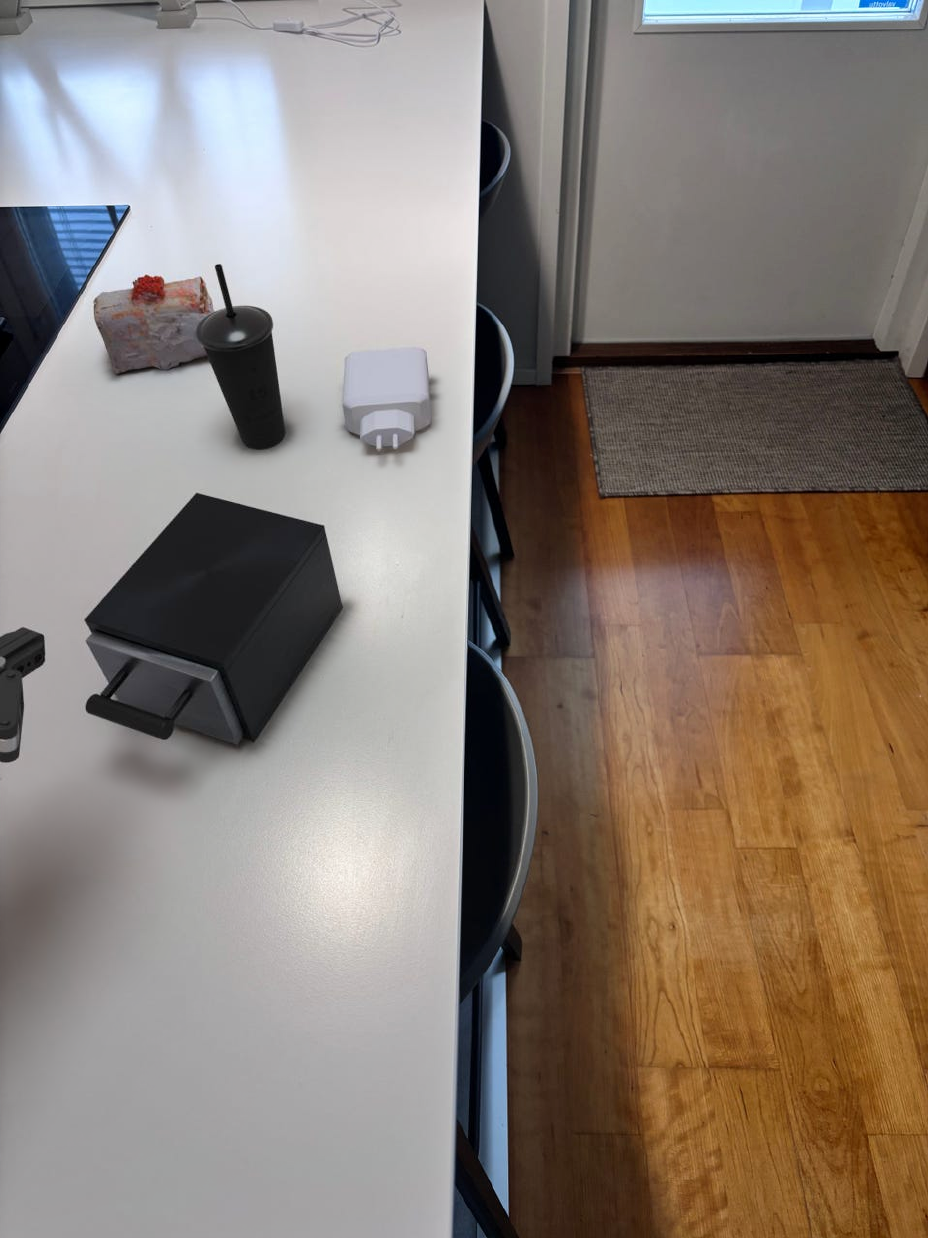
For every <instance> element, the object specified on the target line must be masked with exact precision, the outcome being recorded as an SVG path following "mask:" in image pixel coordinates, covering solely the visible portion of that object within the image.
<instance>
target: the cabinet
mask: <svg viewBox="0 0 928 1238" xmlns="http://www.w3.org/2000/svg"><path fill="white" fill-rule="evenodd" d="M343 608H344V607H343V602H342V597H341V593H340V589H339V585H338V581H337V576H336V572H335V567H334V563H333V559H332V555H331V550H330V544H329V541H328V537H327V532H326V528H325V525H323V524H319V523H316V522H313V521H312V522H311V521H308V520H304V519H300V518H296V517H292V516H290V515H289V516H288V515H284V514H281V513H277V512H273V511H269V510H266V509H262V508H257V507H254V506H250V505H246V504H241V503H237V502H235V501H230V500H227V499H222V498H219V497H216V496H215V497H214V496H211V495H207V494H203V493H199V492H196V493H194V495H193V496H192V497H191V498H190V499H189V500H188V501H187V503H185V505H184V506H183V507H182V508H181V509H180V510H179V512H178V513H177V514H175V516H174V517H173V518H172V519H171V521H170V522H169V523H168V524H167V525H166V527H164V529H163V530H162V531H161V532H160V533H159V534H158V536H156V537H155V538H154V540H153V541H152V542H151V543H150V545H148V546H147V548H146V549H145V550H144V551H143V552H142V553H141V554H140V556H139V557H138V558H137V559H136V560H135V562H133V564H132V565H131V566H129V568H128V570H126V572H125V573H123V575H122V576H121V577H120V578H119V579H118V581H117V582H116V583H115V584H114V585H113V586H112V587H111V588H110V590H109V591H108V592H107V593H106V594H105V595H104V596H103V598H102V599H101V600H100V601H99V602H98V604H96V605H95V607H94V608H93V609H92V610H91V611H90V613H88V614H87V616H86V617H85V618H84V623H85V624H86V626H87V627H88V629H89V631H90V634H91V633H92V632H93V631H94V630H95V631H98V632H101V633H105V634H108V635H111V636H114V637H117V638H120V639H123V638H124V639H127V640H130V641H134V642H137V643H140V644H143V645H146V646H149V647H152V648H155V649H159V650H162V651H165V652H168V653H171V654H174V655H177V656H180V657H183V658H187V659H190V660H193V661H196V662H199V663H202V664H205V665H208V666H212V667H215V668H216V669H217V670H219V672H220V674H221V677H222V679H223V682H224V684H225V687H226V689H227V692H228V694H229V697H230V699H231V702H232V704H233V706H234V709H235V711H236V714H237V716H238V719H239V721H240V724H241V726H242V729H243V731H244V736H243V737H242V739H243V740H245V741H248V742H251V743H255V742H256V740H257V739H258V737H259V736H260V734H261V732H262V731H263V729H264V728H265V727H266V725H267V723H268V722H269V720H271V718H272V716H273V715H274V713H275V711H276V710H277V708H278V707H279V705H280V704H281V702H282V701H283V699H284V697H285V696H286V695H287V693H288V692H289V690H290V689H291V687H292V686H293V684H294V683H295V681H296V680H297V678H298V677H299V675H300V673H301V672H302V671H303V669H304V667H306V664H307V663H308V662H309V660H310V659H311V657H312V655H313V654H314V652H315V651H316V649H317V648H318V646H319V645H320V643H321V642H322V641H323V639H324V637H325V636H326V634H327V633H328V631H329V630H330V628H331V626H332V625H333V624H334V622H335V621H336V619H337V618H338V616H339V614H341V612H342V610H343ZM124 639H123V640H124Z"/></svg>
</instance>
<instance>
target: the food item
mask: <svg viewBox="0 0 928 1238" xmlns="http://www.w3.org/2000/svg"><path fill="white" fill-rule="evenodd" d="M132 285H133V287H132V288H126V289H118V290H112V291H102V292H100V294H98V295H97V296H96V297H95V298H94V299H93V302H92V303H93V318H94V323H95V325H96V327H97V329H98V332H99V334H100V336H101V339H102V341H103V345H104V348H105V349H106V352H107V354H108V357H109V359H110V362H111V366H112V369H113V371H114V373H115V374H116V375H118V374H120V373H125V372H127V371H133V370H140V369H144V368H145V369H146V368H151V367H155V368H158V369H159V370H163V371H164V370H166V371H167V370H170V369H171V368H174V367H178V366H179V365H180V363H187V362H190V361H193V360H196V359H201V358H205V357H206V358H208V356H207V354H206V352H205V349H204V347H203V345H201V343H200V342H199V341H198V339H197V336H196V329H197V326H198V324H199V323H200V322H201V321H202V320H203V319H204V318H205V317H206V316H208V315H209V314H211V313H213V312H215V311H216V310H215V308H214V304H213V299H212V297H211V296H210V294H209V292H208V288H207V284H206V282H205V280H204V279H203V278H202V276H196V277H194V278H187V279H183V280H176V281H171V282H165V280H164V278H163V277H162V276H161V275H160V276H159V275H154V276H150V275H149V274H144V275H143V276H138V277H137V278H136V279H134V280H133V281H132Z"/></svg>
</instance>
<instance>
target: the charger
mask: <svg viewBox="0 0 928 1238" xmlns="http://www.w3.org/2000/svg"><path fill="white" fill-rule="evenodd" d="M427 354H428V353H427V350H425V349H424V348H422V347H418V346H407V347H396V348H394V347H393V348H383V349H381V348H380V349H371V350H369V349H368V350H359V351H353V352H350V353H348V354H347V355H345V357H344V368H343V370H344V371H343V390H342V410H343V416H344V419H345V420H344V421H345V426H346V427H345V428H346V430H347V431H349V432H351V433H353V434H355V435H358V436H359V439H360V440H361V441H362V442H363V443H365V444H368V445H371V446H375V447H376V449H375V450H376V451H378V452H380V451H381V450H382V447H391V446H392V449H393V450H397V449H399V446H400V445H402V444H404V443H406V442H408V441H409V440H411V439H412V438H413V437H414V436H415V432H417V431H420V430H422V429H424V428H426V427H428V426H429V425H431V424H432V423H431V422H432V413H431V412H432V411H431V397H430V396H431V394H430V393H431V392H430V375H429V364H428V355H427Z"/></svg>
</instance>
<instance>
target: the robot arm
mask: <svg viewBox="0 0 928 1238" xmlns="http://www.w3.org/2000/svg"><path fill="white" fill-rule="evenodd" d="M45 662H46V641H45V635H44V634H42V633H41V632H37V631H35V630H33V629H30V628H28V627H24V626H21V627H19V628H18V629H16V630H15V631H10V632H6V633H4V634H2V635H1V636H0V763H4V764H5V763H6V764H7V763H13V762H15V761H17V760H18V759H19V758H20V753H21V752H20V751H21V742H22V733H23V725H24V724H23V722H24V713H25V699H24V685H23V678H25V677H27V676H28V675H29V674H31V673H33V672H34V671H36V670H38V669H39V668H40V667H42V666H43V665H44V664H45Z"/></svg>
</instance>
